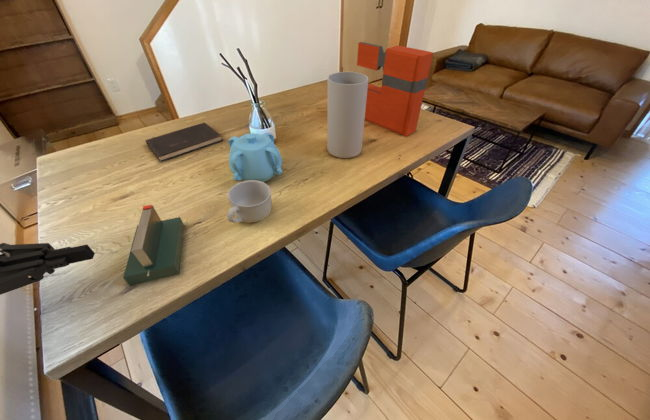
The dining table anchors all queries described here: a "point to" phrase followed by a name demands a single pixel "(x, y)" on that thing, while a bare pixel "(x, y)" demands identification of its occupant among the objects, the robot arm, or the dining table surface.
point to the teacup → (249, 201)
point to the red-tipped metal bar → (147, 237)
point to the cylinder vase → (346, 113)
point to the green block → (159, 255)
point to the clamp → (395, 85)
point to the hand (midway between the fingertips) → (89, 251)
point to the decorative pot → (254, 157)
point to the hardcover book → (183, 141)
